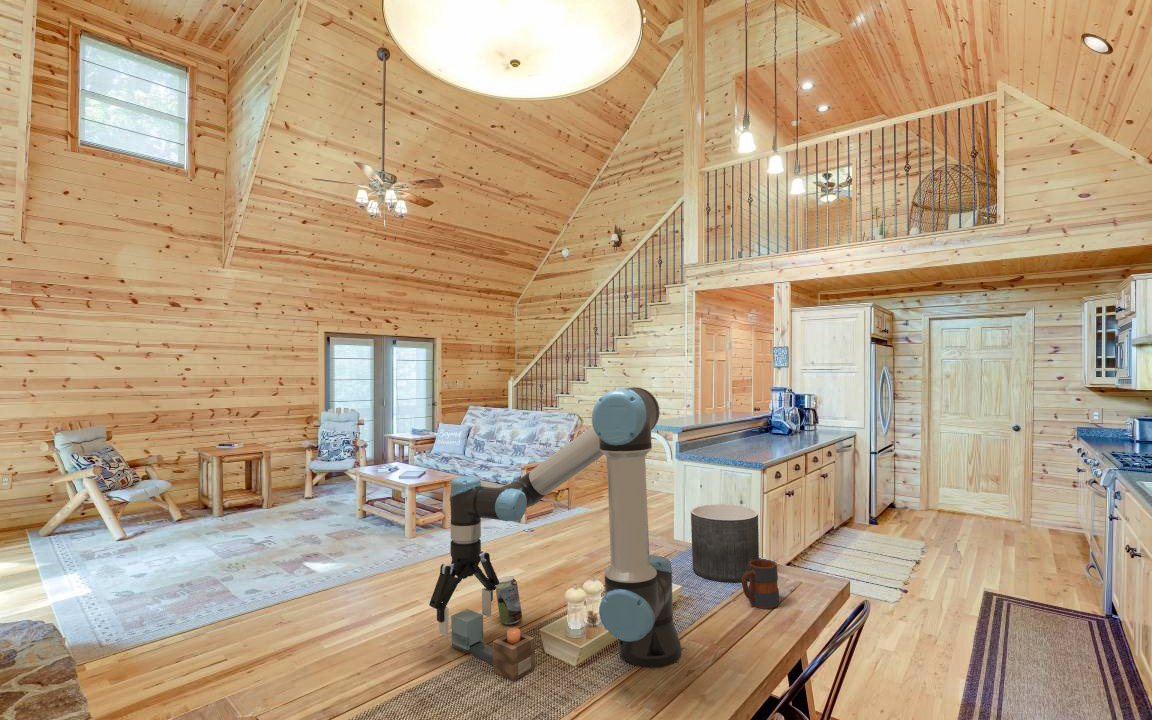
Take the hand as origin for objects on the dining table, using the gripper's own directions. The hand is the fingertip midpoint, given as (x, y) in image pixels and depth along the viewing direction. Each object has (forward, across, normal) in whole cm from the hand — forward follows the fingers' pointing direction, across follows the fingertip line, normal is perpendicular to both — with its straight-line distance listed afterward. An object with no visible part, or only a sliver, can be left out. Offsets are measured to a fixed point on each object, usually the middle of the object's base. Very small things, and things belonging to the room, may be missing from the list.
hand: (466, 624), depth 144 cm
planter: (+5, -89, +28) cm, 93 cm away
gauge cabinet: (+6, 0, +17) cm, 18 cm away
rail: (+6, 0, +5) cm, 8 cm away
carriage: (+4, 0, 0) cm, 5 cm away
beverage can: (+6, -17, -2) cm, 18 cm away
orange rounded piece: (0, 0, +17) cm, 17 cm away
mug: (+5, -69, +48) cm, 84 cm away
